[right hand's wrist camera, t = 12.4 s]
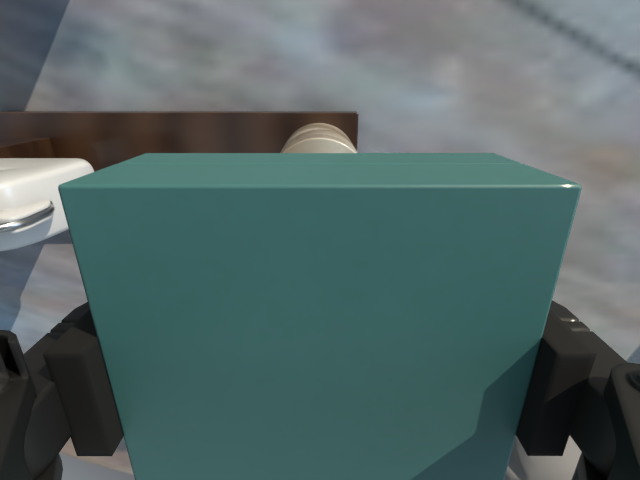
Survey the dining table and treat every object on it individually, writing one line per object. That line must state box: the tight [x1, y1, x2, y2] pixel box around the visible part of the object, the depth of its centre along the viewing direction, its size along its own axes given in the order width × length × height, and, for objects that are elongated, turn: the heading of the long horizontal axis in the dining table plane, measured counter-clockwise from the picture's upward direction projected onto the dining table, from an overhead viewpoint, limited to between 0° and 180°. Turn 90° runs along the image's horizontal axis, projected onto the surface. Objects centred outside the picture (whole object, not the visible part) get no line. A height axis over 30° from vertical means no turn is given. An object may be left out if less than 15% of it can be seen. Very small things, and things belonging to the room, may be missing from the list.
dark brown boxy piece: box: [0, 111, 358, 172], centre depth 28 cm, size 30×8×13 cm, turn 90°
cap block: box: [58, 153, 581, 480], centre depth 10 cm, size 9×9×4 cm
